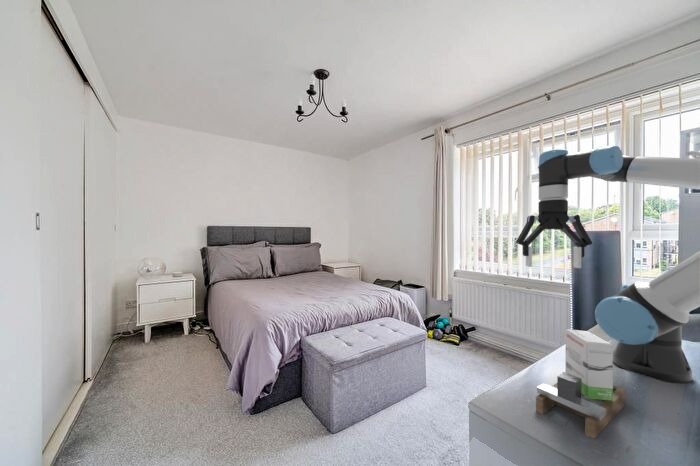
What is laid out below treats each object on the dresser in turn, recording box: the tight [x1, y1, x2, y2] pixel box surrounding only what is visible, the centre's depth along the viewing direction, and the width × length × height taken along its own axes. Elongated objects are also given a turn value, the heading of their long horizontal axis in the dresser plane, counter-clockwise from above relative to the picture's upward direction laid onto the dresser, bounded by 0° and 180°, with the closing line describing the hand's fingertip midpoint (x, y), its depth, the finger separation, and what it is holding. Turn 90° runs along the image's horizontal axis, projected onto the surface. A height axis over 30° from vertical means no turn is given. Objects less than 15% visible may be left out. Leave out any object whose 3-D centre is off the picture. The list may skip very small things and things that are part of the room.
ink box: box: [564, 329, 614, 401], centre depth 61 cm, size 9×5×12 cm, turn 167°
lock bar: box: [536, 372, 606, 421], centre depth 56 cm, size 3×10×5 cm, turn 33°
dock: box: [535, 382, 627, 439], centre depth 59 cm, size 20×9×3 cm, turn 123°
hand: (552, 267), depth 87 cm, fingers open, 13 cm apart
